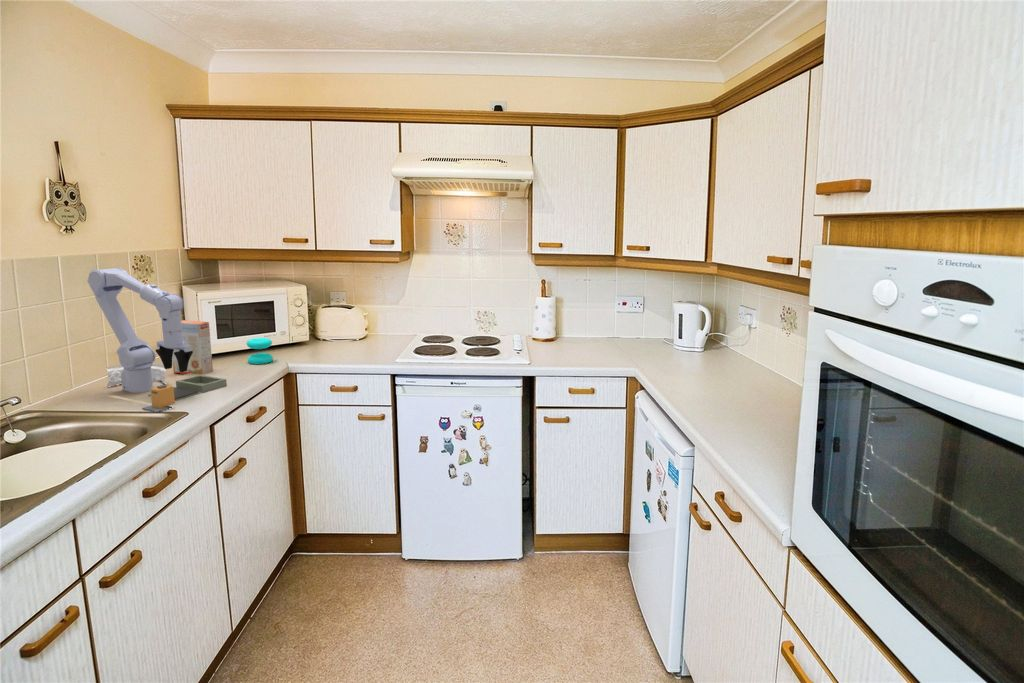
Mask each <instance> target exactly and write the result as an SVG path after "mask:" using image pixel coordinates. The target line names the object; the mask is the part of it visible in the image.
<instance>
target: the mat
mask: <svg viewBox="0 0 1024 683" xmlns="http://www.w3.org/2000/svg"><path fill="white" fill-rule="evenodd" d="M167 406H168V407H164V408H161V409H160V408H156V407H152V404H151V405H148V406H145V407H142V408H141V409H142V410H143V409H144V410H143V411H147V410H149V411H148V412H152V411H156V412H155V413H157V412H158V413H160V412H159V411H162V412H164V411H163V410H165V411H167V410H166V409H168V410H170V409H169V408H172V407H173V406H169V405H167ZM172 409H173V408H172Z"/></svg>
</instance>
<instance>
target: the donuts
mask: <svg viewBox="0 0 1024 683" xmlns="http://www.w3.org/2000/svg"><path fill="white" fill-rule="evenodd" d="M272 344H273V341H272V339H271V338H267V337H256V338H251V339H248V340H247V341H246V346H247V347H248V348H250V349H254V350H263V349H267V348H269V347H271V346H272ZM273 360H274V357H273V355H271V354H270V353H267V352H257V353H253V354H250V355H249V356H248V357H247V361H248V363H249V364H252V365H265V364H264V363H266V364H269V362H270V363H271V362H273Z"/></svg>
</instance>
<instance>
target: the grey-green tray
mask: <svg viewBox="0 0 1024 683" xmlns="http://www.w3.org/2000/svg"><path fill="white" fill-rule="evenodd" d="M227 385H228V384H227V379H226V378H221V377H216V376H211V375H206V374H197V375H193V376H190V377H187V378H184V379H178V380H175V387H174V386H173V388H174V398H175V402H176V401H180V400H183V399H187V398H190V397H194V396H196V395H200V394H203V393H206V392H207V393H208V392H211V391H215V390H218V389H221V388H225V387H227ZM148 396H149V397H151V393H150V394H148Z"/></svg>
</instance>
